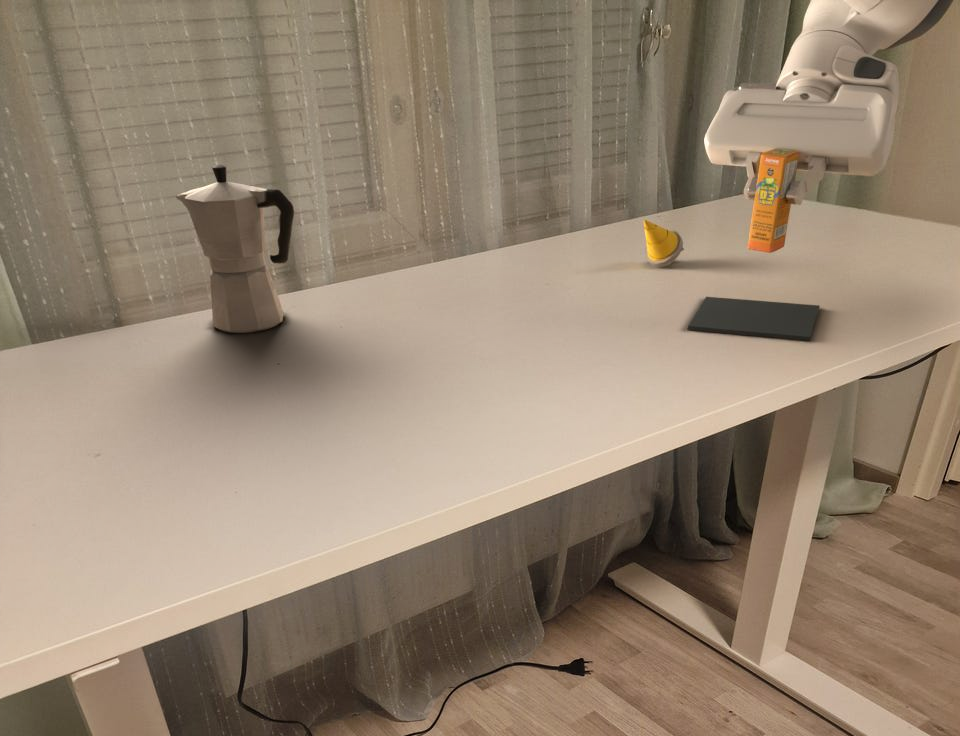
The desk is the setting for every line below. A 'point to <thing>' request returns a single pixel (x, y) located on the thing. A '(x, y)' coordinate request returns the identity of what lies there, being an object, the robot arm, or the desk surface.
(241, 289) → the coffeepot
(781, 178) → the supplement box
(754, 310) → the mat
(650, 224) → the yellow cone on disc
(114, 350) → the desk surface
